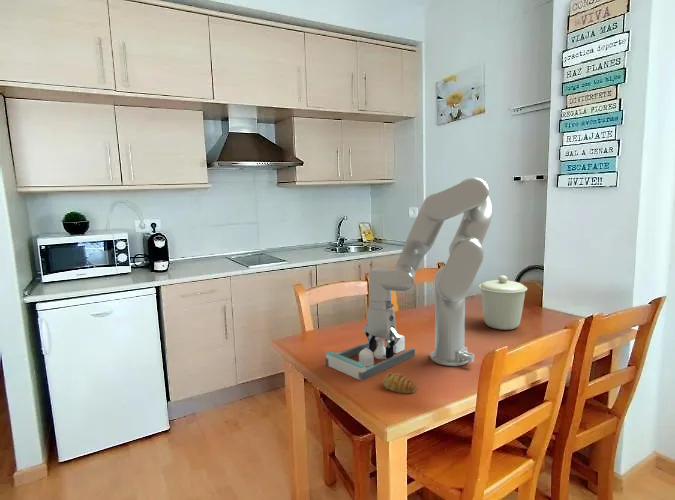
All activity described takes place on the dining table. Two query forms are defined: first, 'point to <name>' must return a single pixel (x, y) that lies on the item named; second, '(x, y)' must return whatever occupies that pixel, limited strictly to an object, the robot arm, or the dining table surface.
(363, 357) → the container set
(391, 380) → the pastry
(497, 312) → the canister
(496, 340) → the dining table surface
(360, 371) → the rail guide
